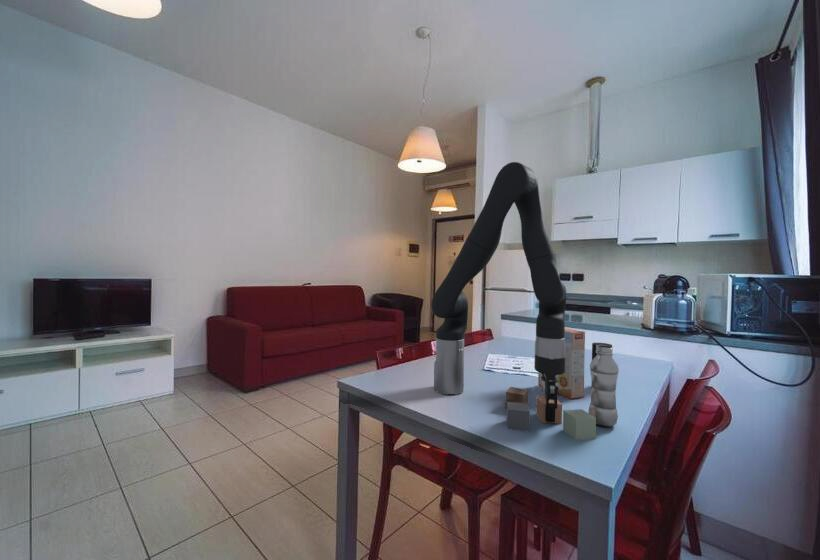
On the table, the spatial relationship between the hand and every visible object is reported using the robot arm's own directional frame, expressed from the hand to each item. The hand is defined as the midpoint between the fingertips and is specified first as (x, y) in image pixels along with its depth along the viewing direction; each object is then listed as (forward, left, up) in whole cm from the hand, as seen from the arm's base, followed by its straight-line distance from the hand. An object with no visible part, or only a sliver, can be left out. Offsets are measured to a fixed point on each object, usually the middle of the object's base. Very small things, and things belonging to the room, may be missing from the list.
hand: (548, 416), depth 87 cm
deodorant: (+20, +32, -1) cm, 38 cm away
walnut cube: (-8, +5, -1) cm, 9 cm away
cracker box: (+6, +24, -1) cm, 25 cm away
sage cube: (+6, -7, -1) cm, 9 cm away
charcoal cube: (-8, -7, -1) cm, 11 cm away
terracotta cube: (0, 0, -1) cm, 1 cm away
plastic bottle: (+13, +1, -1) cm, 13 cm away
